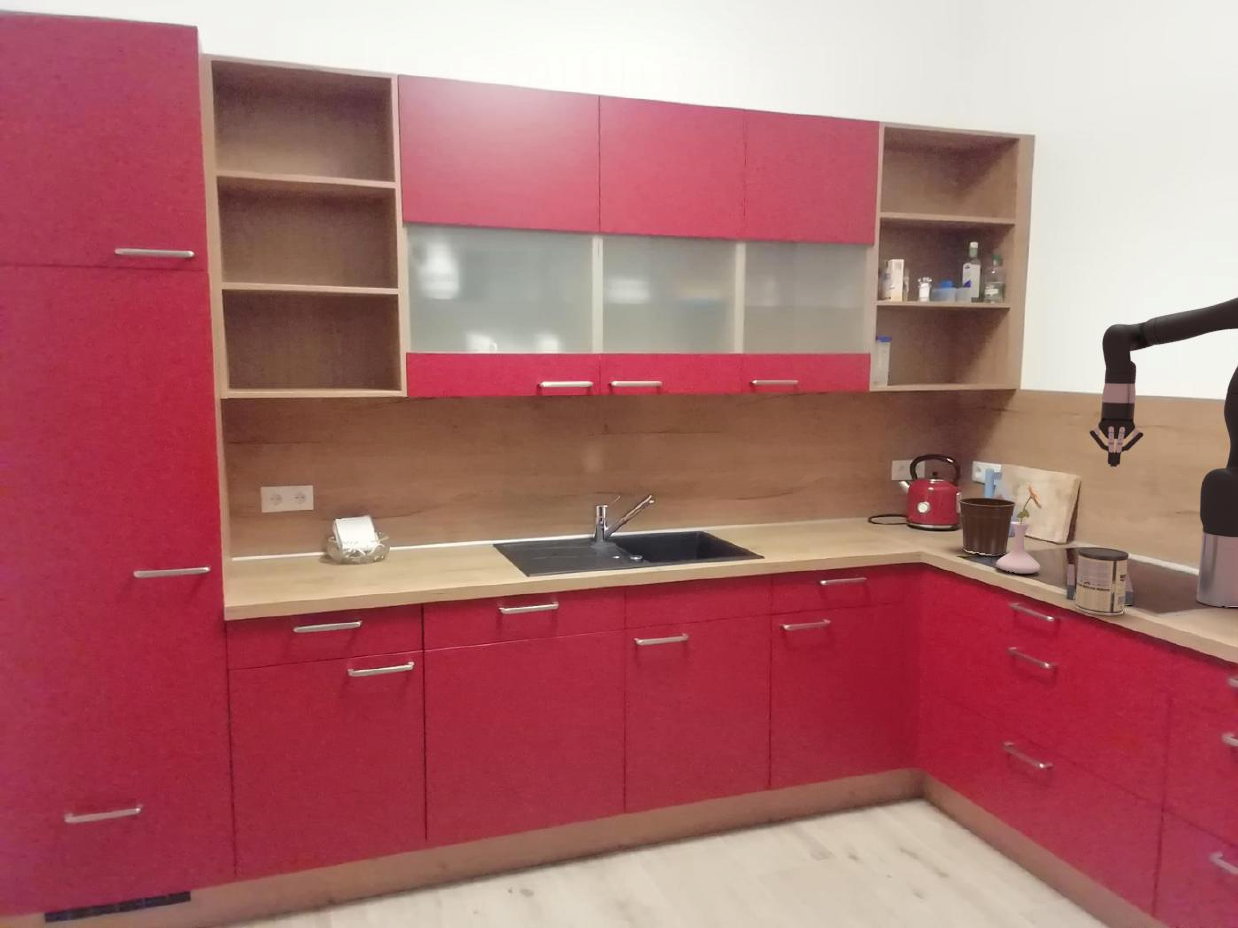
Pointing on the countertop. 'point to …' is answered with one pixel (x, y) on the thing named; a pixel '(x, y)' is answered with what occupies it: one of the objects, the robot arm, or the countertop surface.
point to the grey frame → (1071, 586)
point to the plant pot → (986, 524)
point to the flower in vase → (1021, 544)
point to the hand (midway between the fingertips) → (1113, 466)
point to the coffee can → (1101, 581)
